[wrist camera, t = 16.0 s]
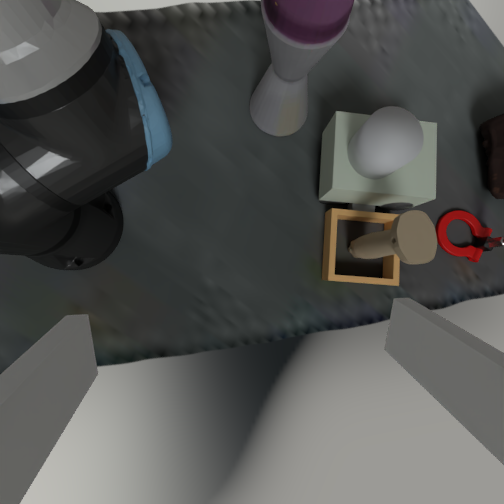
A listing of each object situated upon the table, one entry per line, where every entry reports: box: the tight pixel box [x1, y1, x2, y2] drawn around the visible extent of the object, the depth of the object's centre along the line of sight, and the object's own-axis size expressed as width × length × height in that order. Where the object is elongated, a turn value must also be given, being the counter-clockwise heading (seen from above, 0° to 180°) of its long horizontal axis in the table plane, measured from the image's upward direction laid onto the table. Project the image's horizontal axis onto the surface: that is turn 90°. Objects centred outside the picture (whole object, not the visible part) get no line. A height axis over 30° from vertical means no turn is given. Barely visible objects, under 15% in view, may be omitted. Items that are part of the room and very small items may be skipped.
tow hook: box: [436, 210, 504, 262], centre depth 40 cm, size 8×13×9 cm
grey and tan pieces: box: [319, 106, 437, 286], centre depth 39 cm, size 16×26×13 cm, turn 176°
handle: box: [348, 210, 437, 264], centre depth 37 cm, size 5×6×15 cm
